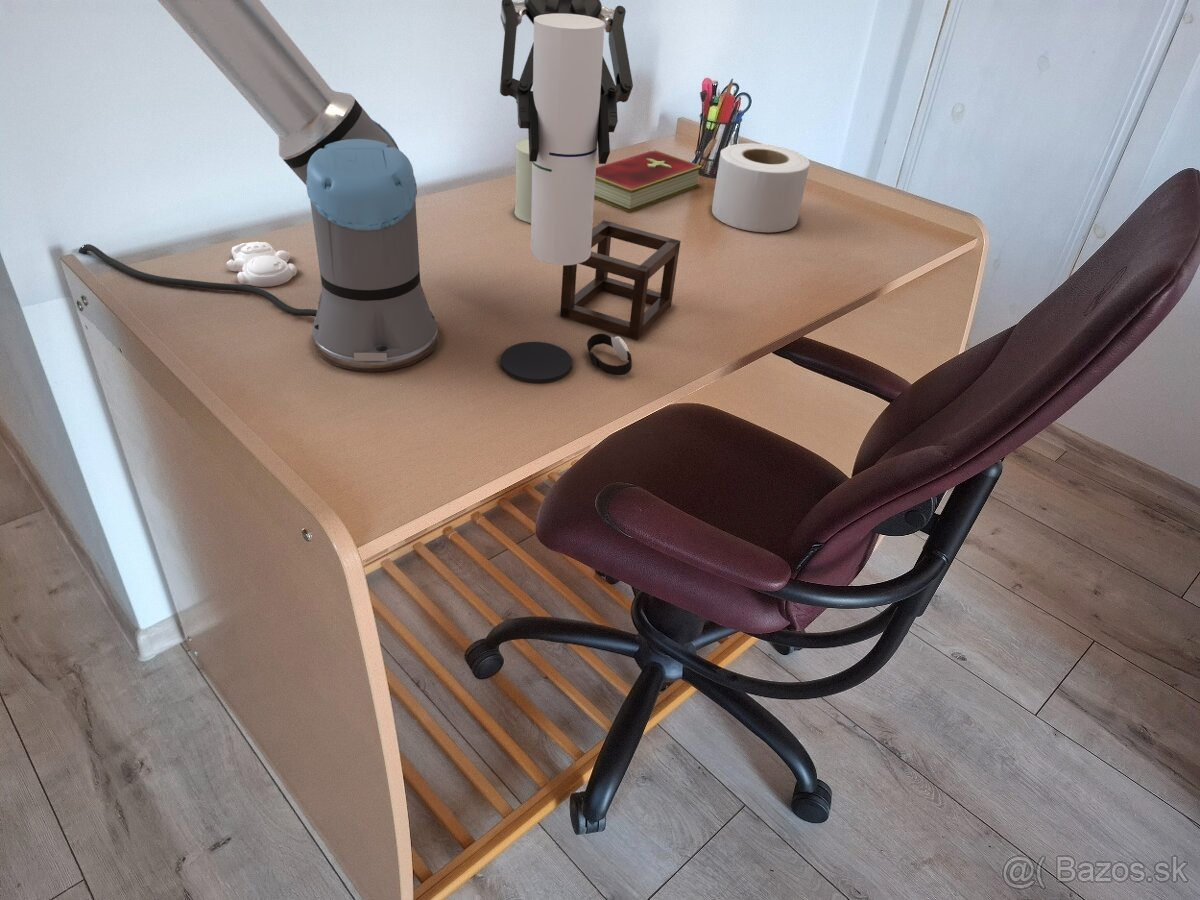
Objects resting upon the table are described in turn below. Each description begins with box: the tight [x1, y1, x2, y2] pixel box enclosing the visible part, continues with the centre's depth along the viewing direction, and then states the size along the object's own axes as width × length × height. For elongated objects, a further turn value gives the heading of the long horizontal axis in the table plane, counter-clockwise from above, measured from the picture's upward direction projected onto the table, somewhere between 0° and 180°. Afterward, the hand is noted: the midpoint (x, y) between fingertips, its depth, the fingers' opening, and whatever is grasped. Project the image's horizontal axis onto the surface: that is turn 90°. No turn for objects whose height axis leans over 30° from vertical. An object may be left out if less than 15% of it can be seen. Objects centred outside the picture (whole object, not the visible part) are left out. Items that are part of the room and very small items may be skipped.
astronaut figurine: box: [226, 241, 298, 288], centre depth 118 cm, size 9×12×3 cm
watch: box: [586, 332, 633, 376], centre depth 105 cm, size 8×5×4 cm, turn 33°
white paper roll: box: [711, 142, 811, 233], centre depth 147 cm, size 16×15×11 cm
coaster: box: [499, 341, 573, 384], centre depth 105 cm, size 9×9×1 cm
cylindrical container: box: [530, 14, 605, 266], centre depth 92 cm, size 7×7×25 cm
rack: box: [559, 219, 681, 341], centre depth 115 cm, size 12×12×10 cm
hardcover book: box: [594, 149, 703, 213], centre depth 155 cm, size 12×21×4 cm, turn 139°
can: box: [514, 138, 532, 224], centre depth 140 cm, size 9×9×12 cm
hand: (569, 156), depth 89 cm, fingers closed on cylindrical container, 7 cm apart
